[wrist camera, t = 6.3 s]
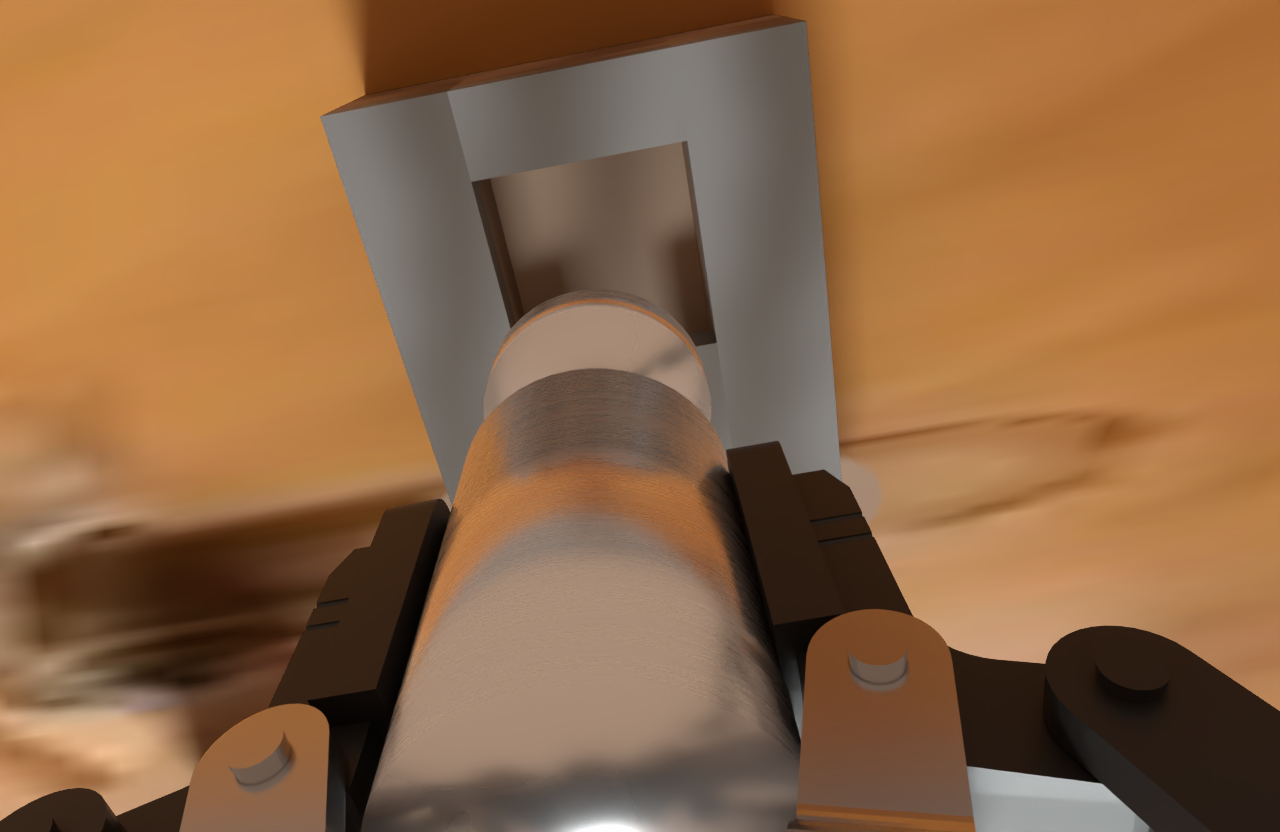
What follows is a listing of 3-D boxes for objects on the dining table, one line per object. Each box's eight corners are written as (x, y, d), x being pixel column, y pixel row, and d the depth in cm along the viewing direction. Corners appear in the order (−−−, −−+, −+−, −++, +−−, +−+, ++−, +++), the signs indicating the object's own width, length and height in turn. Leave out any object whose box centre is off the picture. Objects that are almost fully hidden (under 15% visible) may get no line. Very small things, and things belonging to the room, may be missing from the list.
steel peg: (688, 270, 15) (802, 651, 6) (718, 463, 16) (838, 957, 8) (464, 311, 15) (287, 735, 6) (519, 498, 17) (436, 1016, 8)
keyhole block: (773, 14, 24) (805, 21, 20) (821, 527, 32) (851, 601, 28) (364, 95, 24) (320, 116, 21) (515, 578, 33) (503, 657, 29)
